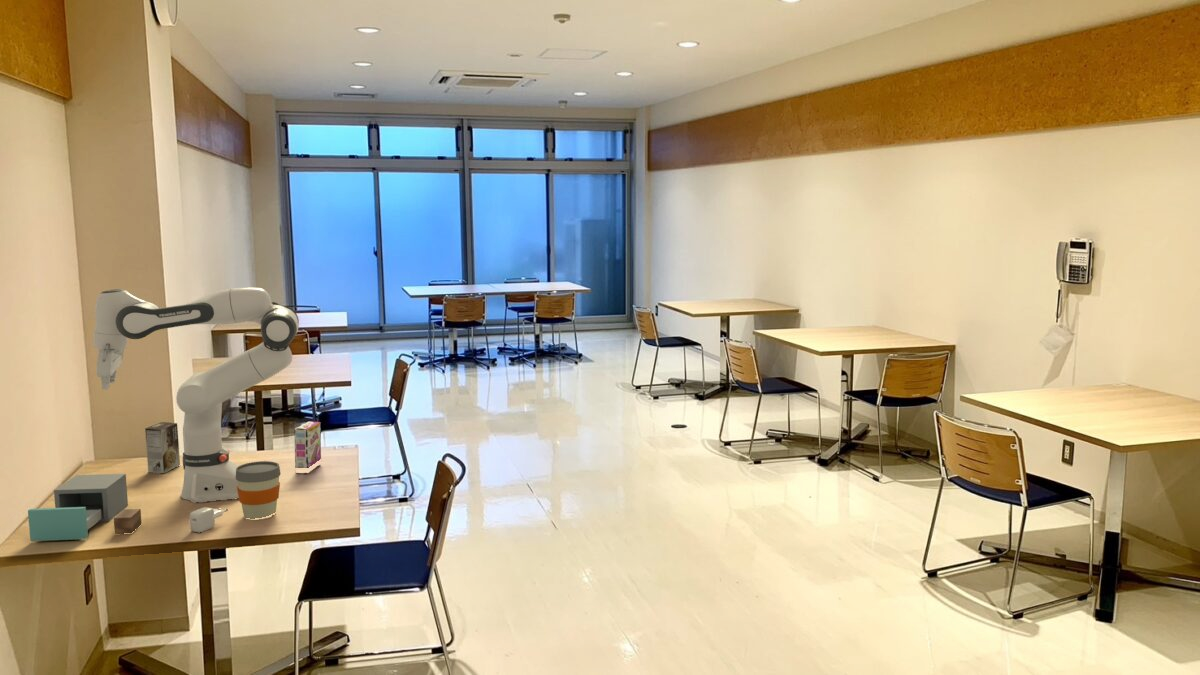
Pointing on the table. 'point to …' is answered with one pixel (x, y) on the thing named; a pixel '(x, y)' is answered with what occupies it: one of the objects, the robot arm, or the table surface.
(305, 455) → the candy bar box
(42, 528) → the teal drawer
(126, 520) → the walnut block
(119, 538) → the table surface
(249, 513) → the reusable coffee cup
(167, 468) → the coffee box
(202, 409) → the robot arm
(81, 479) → the gray drawer box
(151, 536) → the table surface
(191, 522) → the power adapter
